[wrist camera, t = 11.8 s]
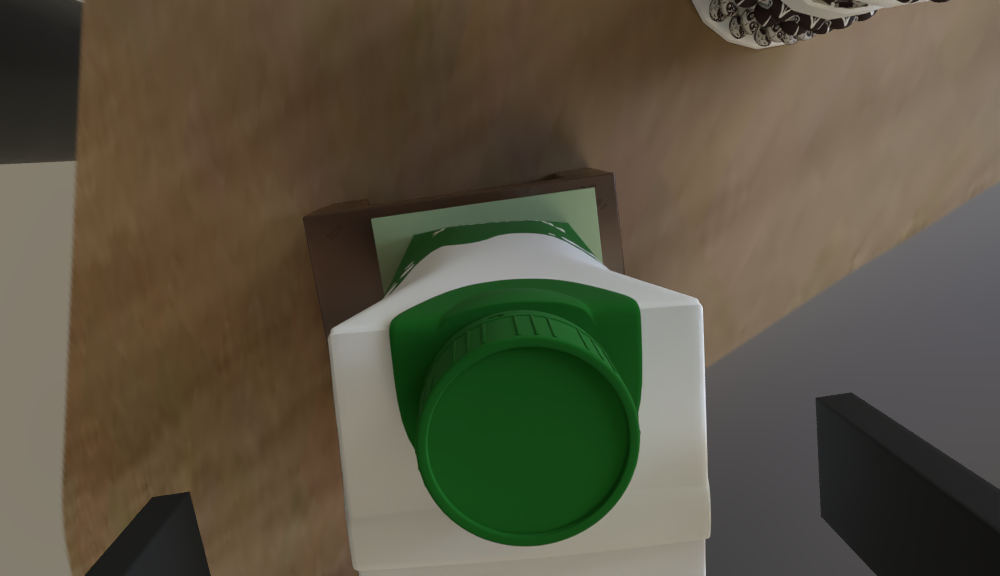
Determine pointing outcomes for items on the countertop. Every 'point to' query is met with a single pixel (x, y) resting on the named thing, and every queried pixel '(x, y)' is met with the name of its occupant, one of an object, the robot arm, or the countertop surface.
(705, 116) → the countertop surface
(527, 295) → the milk carton
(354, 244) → the brown wooden stand
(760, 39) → the white patterned cylinder
